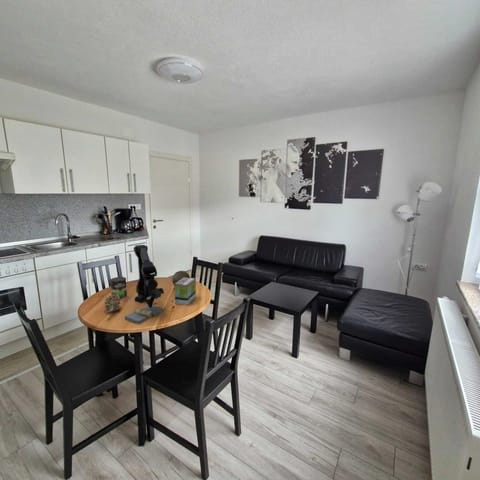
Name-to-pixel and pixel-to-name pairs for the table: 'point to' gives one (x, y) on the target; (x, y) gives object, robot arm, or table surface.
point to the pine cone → (112, 303)
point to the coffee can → (119, 287)
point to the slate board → (139, 318)
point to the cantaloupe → (179, 276)
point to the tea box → (185, 291)
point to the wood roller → (143, 312)
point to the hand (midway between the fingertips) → (150, 307)
